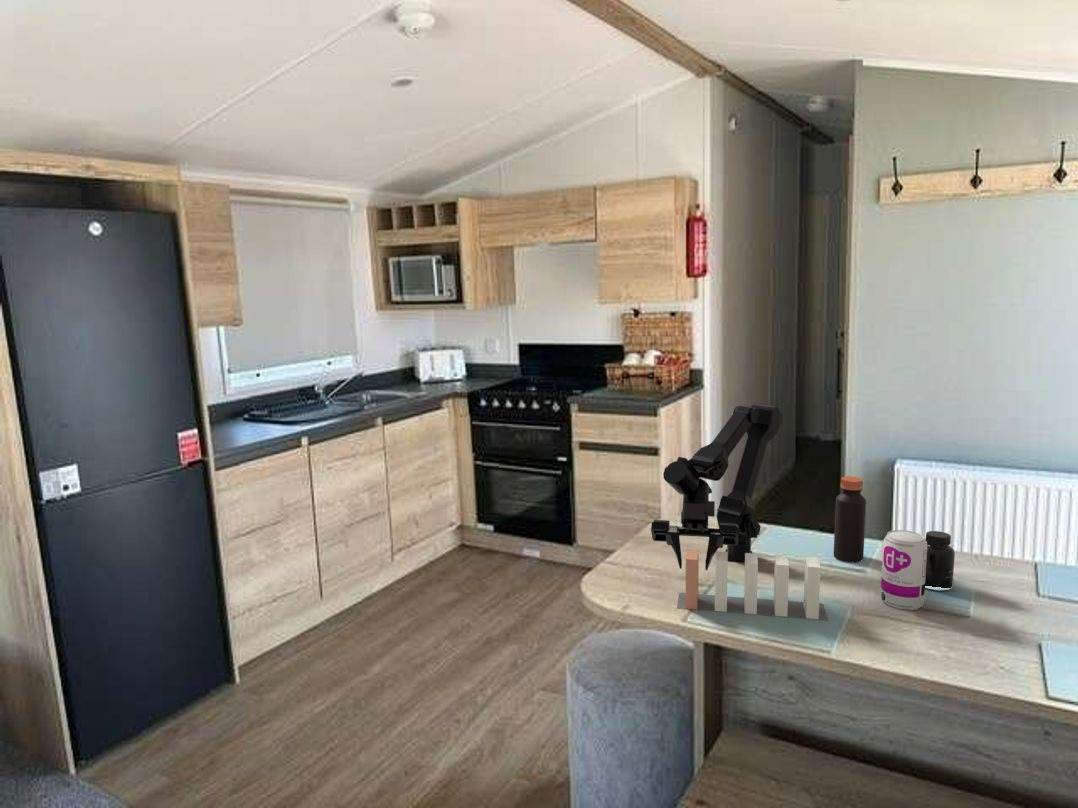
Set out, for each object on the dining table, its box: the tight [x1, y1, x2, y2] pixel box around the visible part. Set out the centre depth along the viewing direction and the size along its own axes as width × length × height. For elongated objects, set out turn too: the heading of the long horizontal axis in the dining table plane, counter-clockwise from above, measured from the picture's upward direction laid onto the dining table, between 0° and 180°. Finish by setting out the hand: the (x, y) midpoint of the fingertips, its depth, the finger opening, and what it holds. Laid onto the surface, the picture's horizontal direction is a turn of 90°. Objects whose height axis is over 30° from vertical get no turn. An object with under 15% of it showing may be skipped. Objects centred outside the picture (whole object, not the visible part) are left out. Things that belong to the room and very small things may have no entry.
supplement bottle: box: [924, 530, 956, 589], centre depth 165 cm, size 7×7×12 cm
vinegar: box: [833, 476, 867, 563], centre depth 181 cm, size 7×7×20 cm
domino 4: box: [803, 556, 822, 620], centre depth 153 cm, size 2×6×11 cm, turn 166°
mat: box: [676, 592, 829, 622], centre depth 157 cm, size 8×30×1 cm, turn 76°
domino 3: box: [773, 554, 790, 618], centre depth 154 cm, size 2×6×11 cm, turn 166°
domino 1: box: [714, 550, 729, 613], centre depth 157 cm, size 2×6×11 cm, turn 166°
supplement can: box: [879, 529, 927, 611], centre depth 156 cm, size 8×8×15 cm
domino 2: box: [743, 552, 759, 615], centre depth 156 cm, size 2×6×11 cm, turn 166°
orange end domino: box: [685, 548, 700, 611], centre depth 158 cm, size 2×6×11 cm, turn 166°
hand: (693, 568), depth 160 cm, fingers open, 5 cm apart
